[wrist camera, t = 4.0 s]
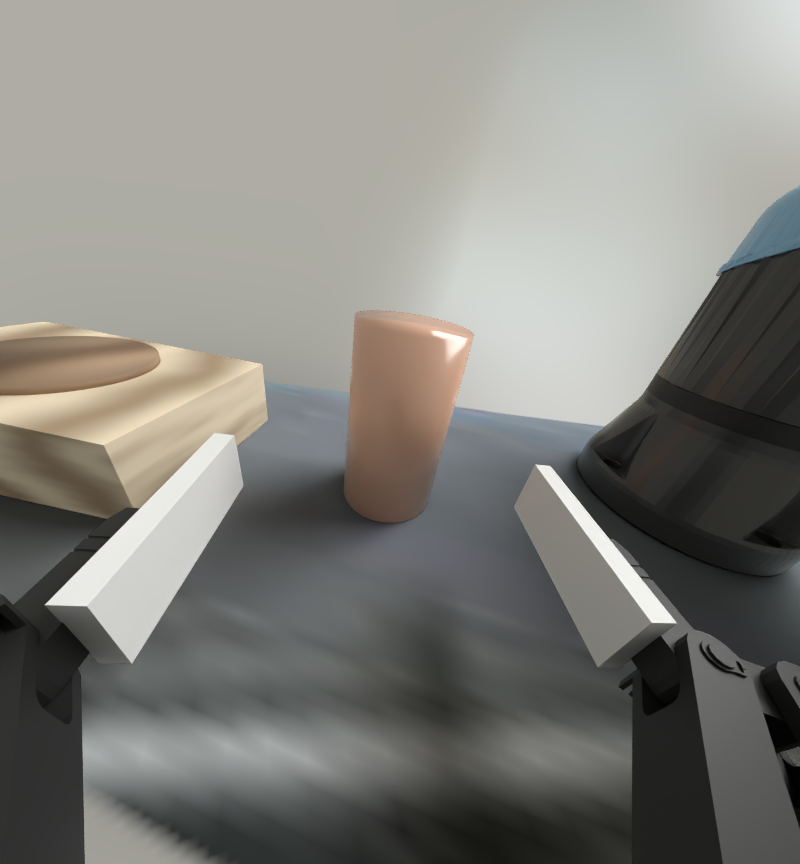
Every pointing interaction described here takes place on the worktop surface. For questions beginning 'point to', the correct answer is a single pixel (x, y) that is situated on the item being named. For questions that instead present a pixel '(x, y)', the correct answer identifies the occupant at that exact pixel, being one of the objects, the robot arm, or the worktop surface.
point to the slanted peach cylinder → (400, 409)
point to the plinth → (111, 414)
